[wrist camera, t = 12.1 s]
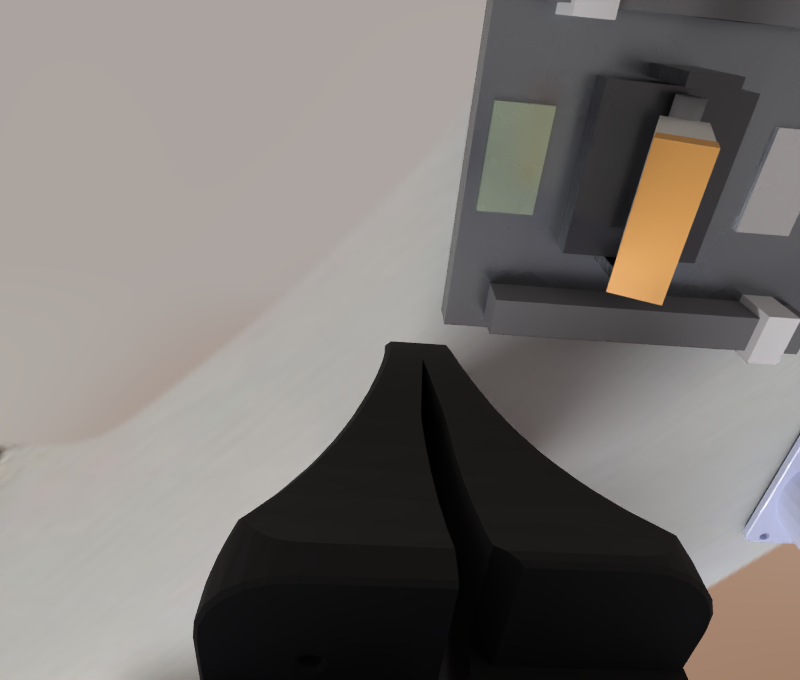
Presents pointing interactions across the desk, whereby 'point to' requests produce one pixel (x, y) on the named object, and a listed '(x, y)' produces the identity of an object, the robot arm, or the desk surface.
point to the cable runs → (678, 316)
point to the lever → (665, 201)
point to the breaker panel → (623, 153)
